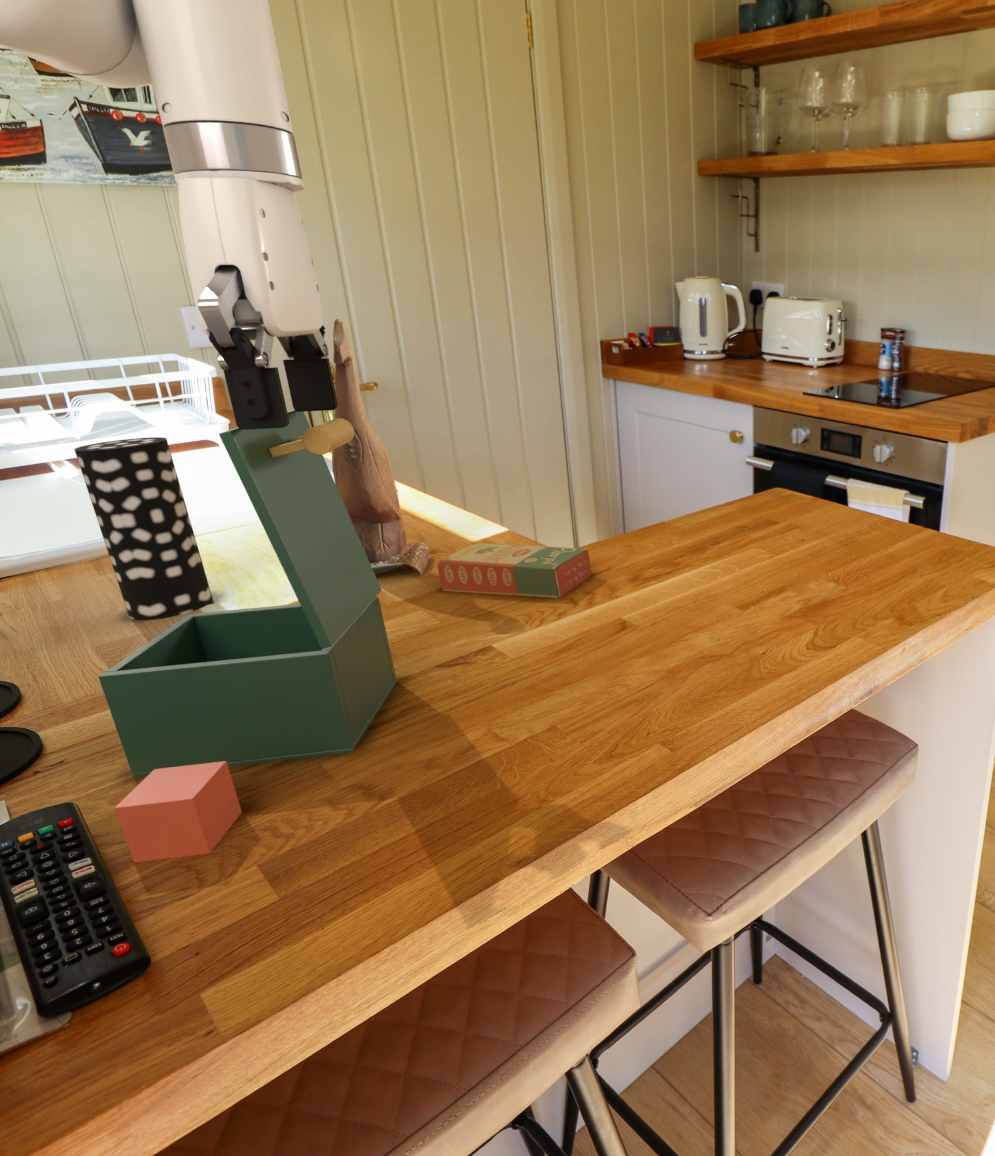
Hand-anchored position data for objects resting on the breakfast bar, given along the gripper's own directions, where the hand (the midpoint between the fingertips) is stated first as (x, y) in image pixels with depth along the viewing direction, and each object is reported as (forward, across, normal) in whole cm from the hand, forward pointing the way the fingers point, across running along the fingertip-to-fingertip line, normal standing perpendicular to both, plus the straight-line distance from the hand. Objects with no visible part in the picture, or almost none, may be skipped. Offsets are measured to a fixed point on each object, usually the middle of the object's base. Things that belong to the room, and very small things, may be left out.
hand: (292, 418), depth 61 cm
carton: (+25, -32, +9) cm, 42 cm away
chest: (+25, 0, -6) cm, 26 cm away
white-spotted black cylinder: (+26, -35, -32) cm, 54 cm away
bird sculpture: (+26, -43, -10) cm, 51 cm away
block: (+25, +15, -6) cm, 30 cm away
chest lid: (+8, 0, -1) cm, 8 cm away
